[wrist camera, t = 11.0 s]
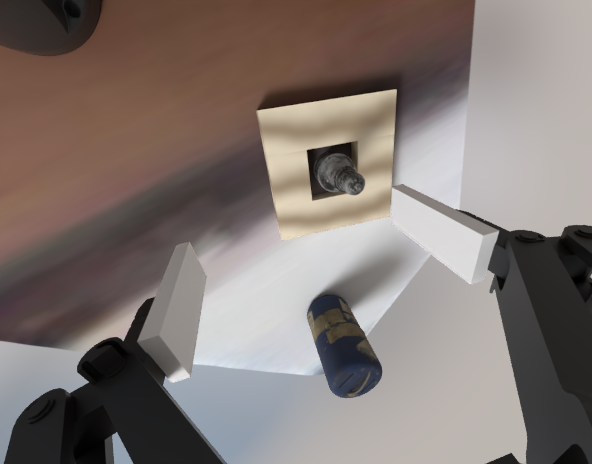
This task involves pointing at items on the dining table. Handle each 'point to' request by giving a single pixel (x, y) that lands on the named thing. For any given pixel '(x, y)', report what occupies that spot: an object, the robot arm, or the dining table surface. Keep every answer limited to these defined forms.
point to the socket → (319, 133)
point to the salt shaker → (338, 174)
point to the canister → (343, 348)
